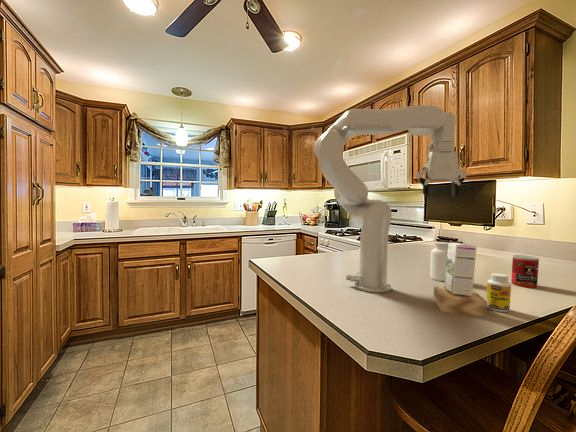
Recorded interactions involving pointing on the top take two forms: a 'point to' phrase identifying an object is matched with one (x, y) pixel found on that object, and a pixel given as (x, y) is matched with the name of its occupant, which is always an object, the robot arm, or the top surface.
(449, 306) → the oak block
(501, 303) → the supplement bottle
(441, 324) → the top surface
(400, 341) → the top surface
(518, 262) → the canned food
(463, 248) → the syrup box
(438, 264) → the pill bottle
